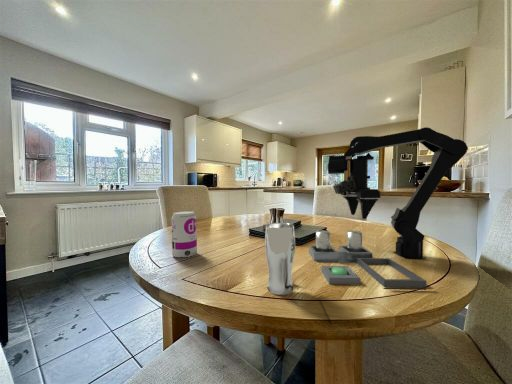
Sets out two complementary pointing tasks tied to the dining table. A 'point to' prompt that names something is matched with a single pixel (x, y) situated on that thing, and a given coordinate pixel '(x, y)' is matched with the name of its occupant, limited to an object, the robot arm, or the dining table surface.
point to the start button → (339, 271)
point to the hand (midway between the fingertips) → (358, 216)
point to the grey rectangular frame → (412, 282)
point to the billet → (354, 241)
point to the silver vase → (280, 257)
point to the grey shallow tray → (338, 255)
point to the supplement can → (184, 234)
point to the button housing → (340, 276)
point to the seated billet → (322, 241)
